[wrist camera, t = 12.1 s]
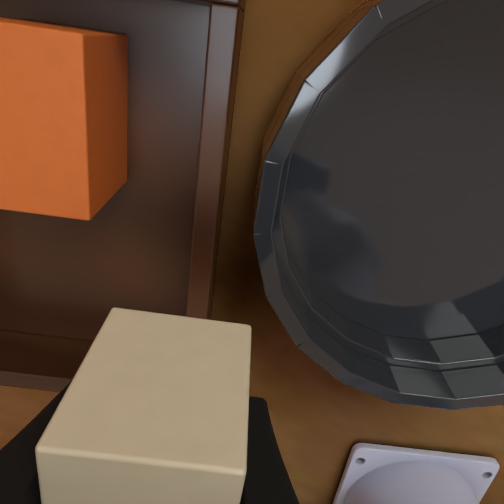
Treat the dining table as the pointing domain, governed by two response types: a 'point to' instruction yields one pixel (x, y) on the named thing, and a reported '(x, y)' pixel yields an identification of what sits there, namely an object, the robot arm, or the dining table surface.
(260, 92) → the dining table surface
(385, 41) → the bowl
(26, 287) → the holder
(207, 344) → the block
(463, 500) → the robot arm
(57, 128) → the orange rectangular block
